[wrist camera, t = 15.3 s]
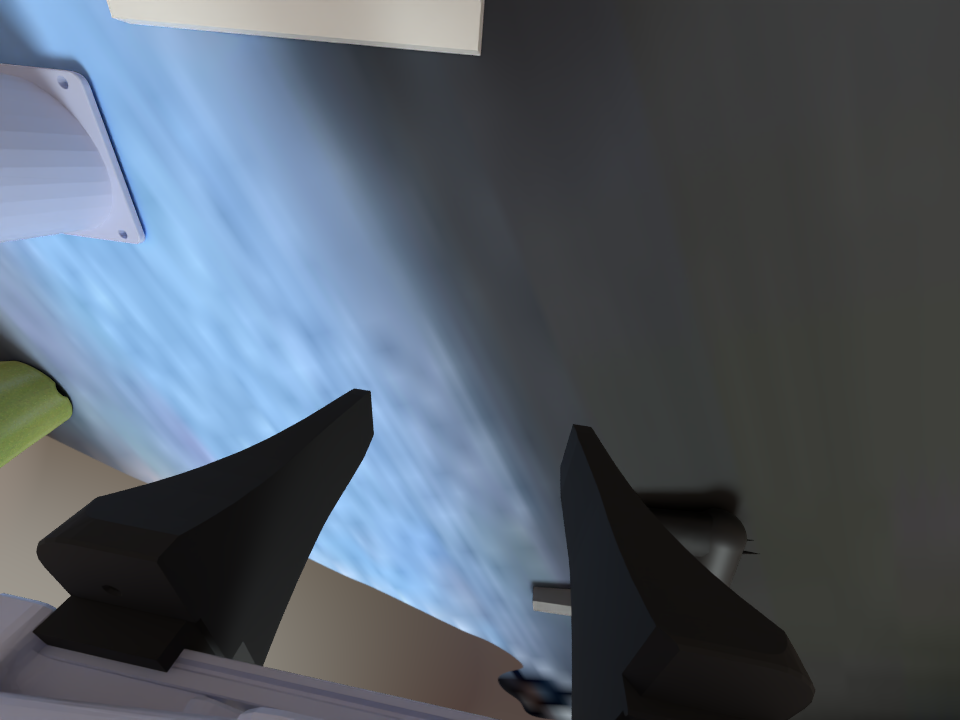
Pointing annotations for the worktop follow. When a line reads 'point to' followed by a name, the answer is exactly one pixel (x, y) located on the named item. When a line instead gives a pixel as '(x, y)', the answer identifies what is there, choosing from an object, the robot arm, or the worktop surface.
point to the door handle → (701, 533)
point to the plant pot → (27, 408)
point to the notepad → (323, 20)
